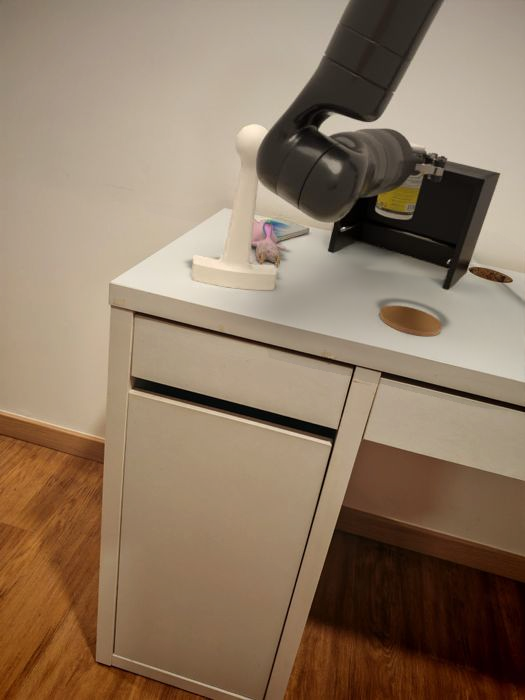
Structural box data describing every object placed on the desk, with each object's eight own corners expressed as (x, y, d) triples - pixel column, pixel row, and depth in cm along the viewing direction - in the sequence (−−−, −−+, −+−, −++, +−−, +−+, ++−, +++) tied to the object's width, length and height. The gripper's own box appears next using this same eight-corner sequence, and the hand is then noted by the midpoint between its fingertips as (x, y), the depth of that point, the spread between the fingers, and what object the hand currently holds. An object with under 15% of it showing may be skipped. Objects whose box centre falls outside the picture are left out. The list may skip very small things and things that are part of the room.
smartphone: (311, 228, 107) (267, 240, 95) (310, 233, 107) (266, 245, 95) (278, 217, 110) (232, 227, 98) (277, 221, 110) (231, 232, 98)
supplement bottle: (371, 207, 86) (388, 138, 82) (407, 213, 86) (426, 144, 82) (377, 216, 81) (395, 142, 77) (415, 222, 81) (435, 150, 77)
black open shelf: (448, 290, 91) (485, 179, 83) (322, 249, 99) (345, 145, 92) (466, 272, 101) (500, 173, 94) (351, 237, 110) (373, 143, 102)
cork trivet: (428, 313, 80) (430, 309, 80) (450, 339, 73) (451, 335, 73) (372, 306, 79) (374, 302, 79) (389, 332, 72) (390, 327, 72)
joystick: (190, 282, 75) (210, 118, 67) (192, 263, 82) (210, 111, 73) (275, 293, 77) (305, 135, 68) (269, 273, 84) (296, 126, 75)
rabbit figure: (287, 276, 88) (272, 231, 100) (296, 240, 84) (279, 198, 96) (246, 272, 87) (236, 227, 98) (254, 235, 83) (242, 193, 95)
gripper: (440, 142, 64) (472, 139, 78) (323, 117, 70) (372, 118, 83) (420, 210, 67) (455, 195, 81) (310, 180, 73) (360, 172, 87)
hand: (413, 156), depth 82 cm, fingers closed on supplement bottle, 5 cm apart
